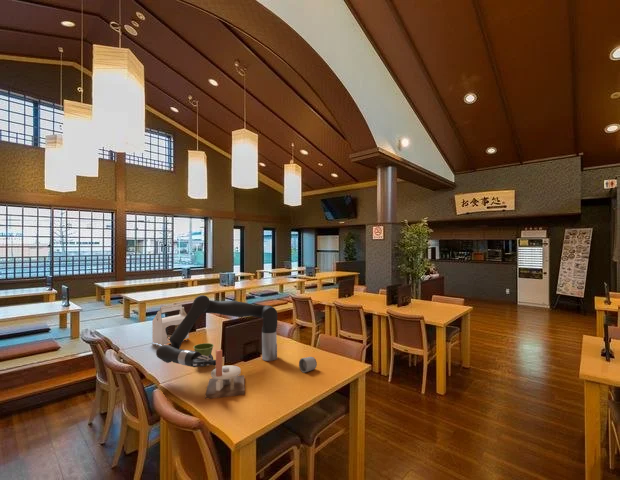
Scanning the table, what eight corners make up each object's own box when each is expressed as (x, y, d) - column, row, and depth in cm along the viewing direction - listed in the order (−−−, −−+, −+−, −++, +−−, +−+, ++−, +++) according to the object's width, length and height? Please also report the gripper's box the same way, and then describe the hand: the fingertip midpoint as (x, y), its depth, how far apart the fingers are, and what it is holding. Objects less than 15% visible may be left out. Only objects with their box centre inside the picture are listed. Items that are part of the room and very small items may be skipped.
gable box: (161, 347, 220) (161, 308, 221) (151, 344, 227) (151, 306, 228) (189, 339, 238) (189, 303, 239) (179, 336, 246) (179, 302, 246)
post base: (244, 378, 165) (244, 364, 166) (244, 394, 148) (244, 377, 148) (209, 382, 162) (209, 367, 162) (205, 398, 144) (205, 381, 144)
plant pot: (207, 369, 180) (207, 349, 180) (189, 367, 182) (189, 348, 182) (217, 361, 191) (217, 343, 191) (200, 360, 194) (200, 342, 194)
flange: (232, 373, 165) (231, 340, 165) (246, 381, 154) (245, 347, 155) (204, 381, 155) (204, 347, 155) (217, 391, 144) (217, 354, 145)
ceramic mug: (317, 370, 176) (317, 356, 176) (307, 374, 170) (306, 360, 171) (306, 365, 184) (305, 352, 184) (295, 369, 178) (295, 355, 179)
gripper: (179, 354, 151) (206, 359, 144) (199, 346, 163) (225, 351, 157) (179, 370, 151) (206, 375, 144) (198, 361, 163) (225, 365, 156)
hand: (216, 363), depth 150 cm, fingers closed
